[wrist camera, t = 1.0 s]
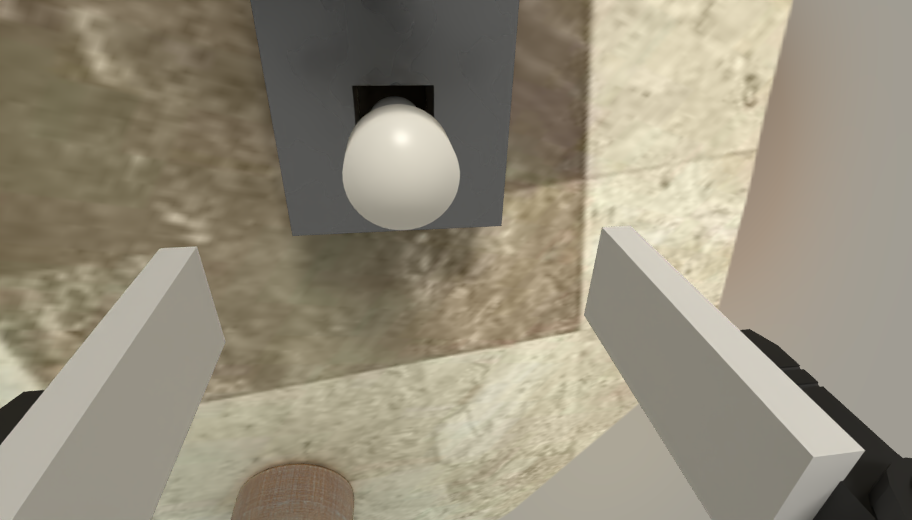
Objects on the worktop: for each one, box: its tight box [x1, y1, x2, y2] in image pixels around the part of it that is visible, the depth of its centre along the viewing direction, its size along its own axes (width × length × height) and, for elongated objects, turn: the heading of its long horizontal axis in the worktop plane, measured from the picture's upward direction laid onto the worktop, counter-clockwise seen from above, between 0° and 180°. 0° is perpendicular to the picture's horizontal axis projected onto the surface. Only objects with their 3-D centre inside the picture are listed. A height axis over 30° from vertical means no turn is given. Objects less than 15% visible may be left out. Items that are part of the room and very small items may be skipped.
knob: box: [342, 96, 460, 230], centre depth 21 cm, size 4×4×8 cm
